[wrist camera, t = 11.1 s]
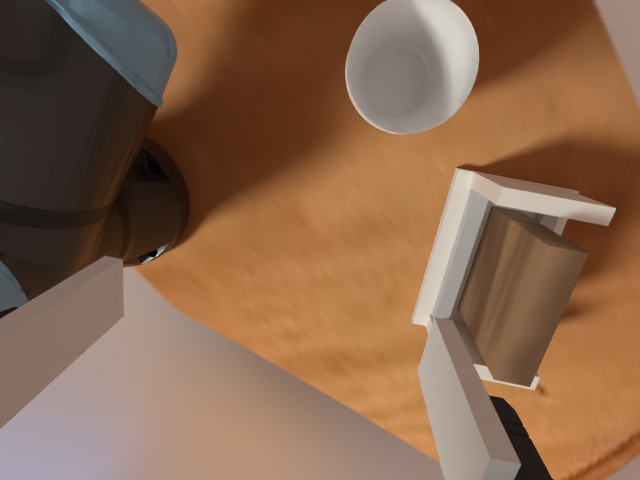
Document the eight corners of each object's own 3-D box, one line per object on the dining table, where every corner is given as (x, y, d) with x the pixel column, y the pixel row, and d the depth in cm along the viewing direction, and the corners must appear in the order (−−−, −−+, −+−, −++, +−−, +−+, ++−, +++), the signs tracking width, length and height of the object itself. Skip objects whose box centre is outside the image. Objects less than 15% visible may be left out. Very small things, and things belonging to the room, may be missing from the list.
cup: (461, 56, 35) (510, 30, 24) (411, 144, 38) (433, 158, 27) (376, 9, 35) (386, -40, 23) (332, 102, 38) (321, 98, 26)
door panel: (457, 308, 42) (493, 379, 31) (491, 206, 39) (547, 245, 27) (486, 314, 42) (532, 387, 31) (523, 212, 38) (593, 254, 27)
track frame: (411, 318, 45) (424, 367, 36) (455, 167, 39) (483, 183, 30) (513, 339, 44) (550, 393, 36) (573, 189, 38) (635, 211, 30)
